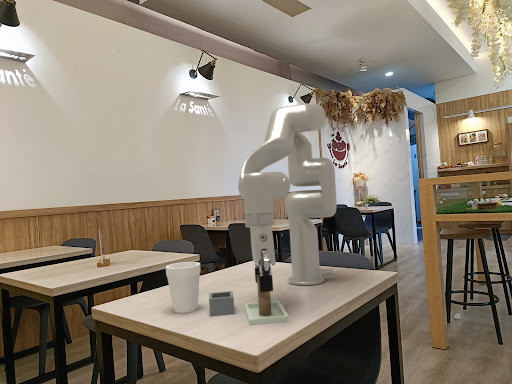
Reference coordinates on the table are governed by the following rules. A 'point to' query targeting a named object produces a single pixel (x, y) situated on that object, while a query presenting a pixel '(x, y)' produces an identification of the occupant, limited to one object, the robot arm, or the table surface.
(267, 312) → the dowel
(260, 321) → the tray
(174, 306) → the foam cup
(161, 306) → the table surface
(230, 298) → the pen cup
